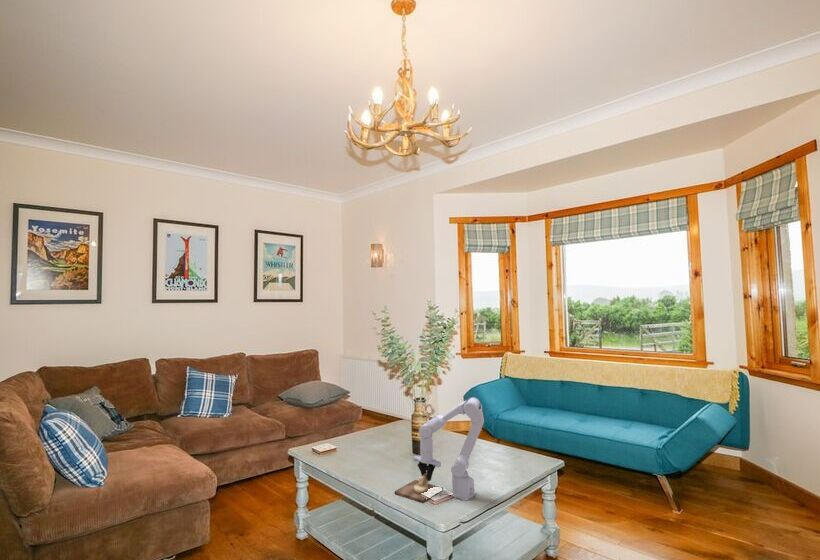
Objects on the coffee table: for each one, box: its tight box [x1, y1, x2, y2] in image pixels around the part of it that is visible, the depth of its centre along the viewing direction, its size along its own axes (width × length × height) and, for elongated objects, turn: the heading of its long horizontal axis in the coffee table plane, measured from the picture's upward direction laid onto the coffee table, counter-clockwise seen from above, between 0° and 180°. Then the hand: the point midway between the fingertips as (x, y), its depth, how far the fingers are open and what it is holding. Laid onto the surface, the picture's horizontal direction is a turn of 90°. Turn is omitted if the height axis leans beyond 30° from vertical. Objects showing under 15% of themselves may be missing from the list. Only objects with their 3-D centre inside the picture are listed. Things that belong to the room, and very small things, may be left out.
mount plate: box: [394, 479, 444, 504], centre depth 207 cm, size 16×16×1 cm
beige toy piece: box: [414, 471, 430, 494], centre depth 207 cm, size 11×6×6 cm, turn 148°
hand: (426, 479), depth 209 cm, fingers closed
